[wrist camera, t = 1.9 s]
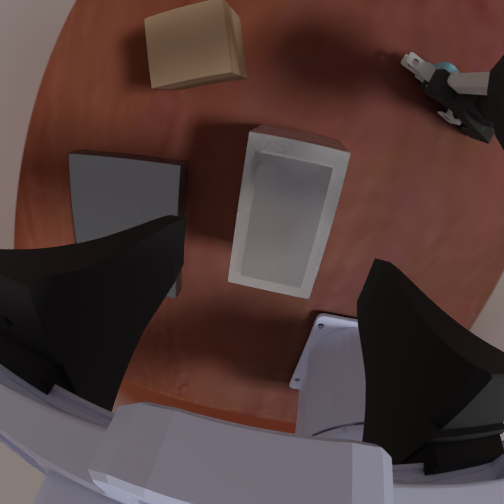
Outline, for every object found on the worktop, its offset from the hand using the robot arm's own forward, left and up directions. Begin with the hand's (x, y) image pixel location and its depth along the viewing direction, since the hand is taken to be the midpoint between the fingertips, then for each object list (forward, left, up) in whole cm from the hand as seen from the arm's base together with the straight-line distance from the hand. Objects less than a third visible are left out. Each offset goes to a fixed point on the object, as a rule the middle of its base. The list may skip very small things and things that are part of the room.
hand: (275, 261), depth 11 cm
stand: (-4, +11, -8) cm, 14 cm away
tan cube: (+8, +6, -8) cm, 13 cm away
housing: (0, 0, -8) cm, 8 cm away
